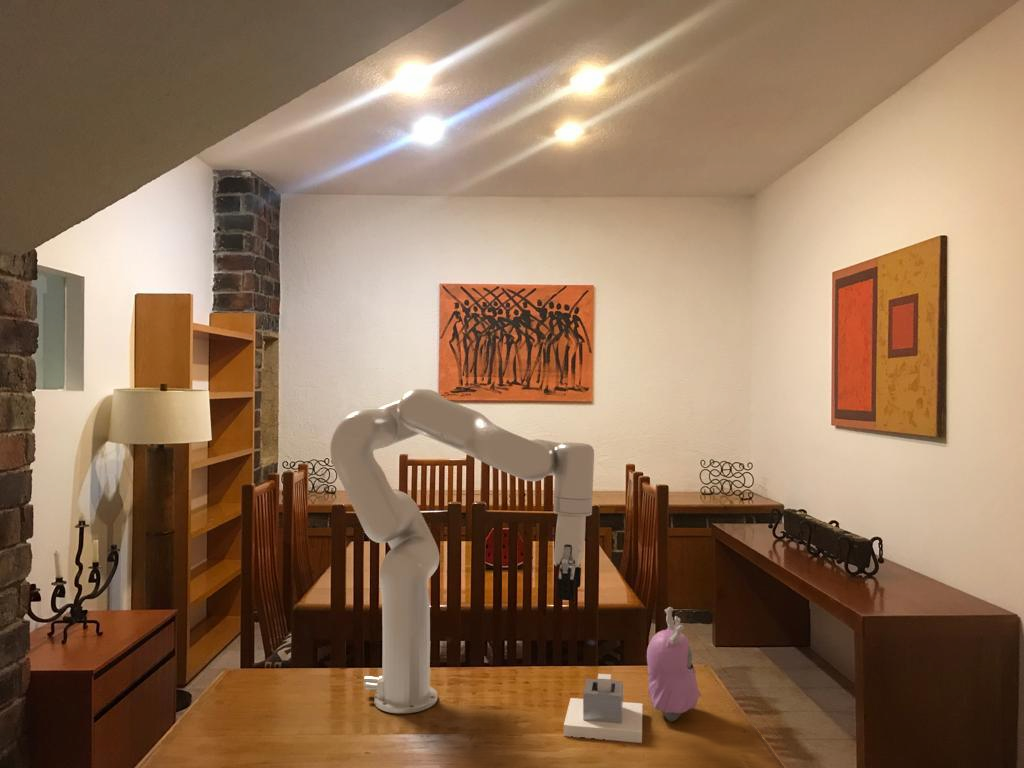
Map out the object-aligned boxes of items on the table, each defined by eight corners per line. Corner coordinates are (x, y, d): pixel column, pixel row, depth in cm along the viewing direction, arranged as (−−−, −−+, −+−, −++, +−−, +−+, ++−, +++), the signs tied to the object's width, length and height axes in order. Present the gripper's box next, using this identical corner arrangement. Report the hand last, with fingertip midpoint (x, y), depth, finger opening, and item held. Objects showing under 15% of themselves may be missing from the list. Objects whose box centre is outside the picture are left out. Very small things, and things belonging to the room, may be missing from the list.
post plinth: (563, 736, 133) (563, 686, 133) (570, 708, 145) (570, 662, 145) (641, 742, 130) (641, 692, 130) (642, 713, 142) (642, 667, 142)
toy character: (702, 731, 135) (702, 622, 135) (646, 725, 137) (646, 618, 137) (699, 703, 147) (699, 603, 147) (647, 699, 149) (647, 600, 149)
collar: (583, 720, 135) (583, 693, 135) (586, 704, 142) (586, 678, 142) (621, 723, 133) (621, 696, 133) (622, 707, 140) (622, 681, 140)
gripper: (560, 498, 153) (556, 580, 153) (546, 511, 136) (543, 603, 136) (596, 501, 151) (592, 583, 151) (587, 514, 134) (583, 607, 134)
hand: (569, 592), depth 144 cm, fingers open, 9 cm apart
